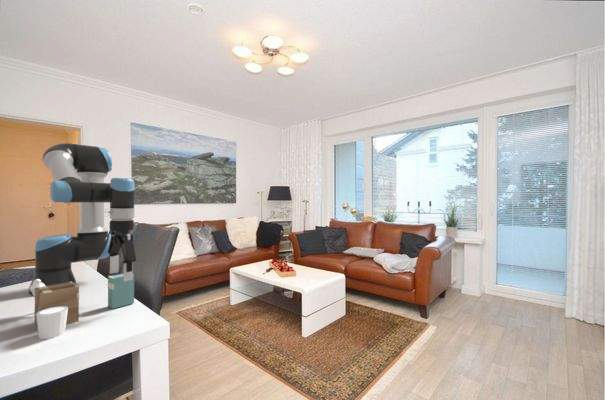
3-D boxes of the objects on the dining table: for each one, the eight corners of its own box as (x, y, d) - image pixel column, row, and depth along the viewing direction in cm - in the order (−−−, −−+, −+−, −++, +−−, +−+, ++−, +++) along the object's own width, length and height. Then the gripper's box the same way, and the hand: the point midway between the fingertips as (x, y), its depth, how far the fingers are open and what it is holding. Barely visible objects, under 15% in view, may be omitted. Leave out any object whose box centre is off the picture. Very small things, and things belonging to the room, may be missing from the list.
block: (107, 305, 99) (107, 276, 99) (129, 300, 105) (129, 272, 105) (112, 308, 96) (112, 278, 96) (134, 303, 102) (134, 274, 102)
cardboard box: (34, 322, 86) (34, 287, 86) (71, 313, 93) (71, 281, 93) (40, 331, 80) (40, 293, 80) (78, 320, 87) (79, 286, 87)
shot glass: (49, 329, 82) (50, 305, 82) (74, 328, 82) (74, 305, 82) (28, 340, 75) (29, 315, 75) (55, 340, 75) (55, 314, 75)
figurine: (46, 315, 91) (47, 279, 91) (29, 319, 88) (29, 282, 88) (46, 309, 96) (46, 275, 96) (29, 312, 93) (29, 277, 94)
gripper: (98, 217, 105) (97, 271, 106) (123, 223, 90) (122, 286, 91) (120, 216, 111) (119, 268, 112) (147, 221, 96) (146, 281, 96)
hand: (120, 276), depth 101 cm, fingers open, 13 cm apart
